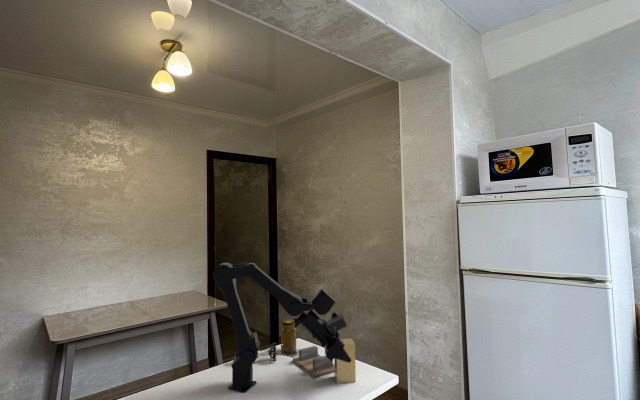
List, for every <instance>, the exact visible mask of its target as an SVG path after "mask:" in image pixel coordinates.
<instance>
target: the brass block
mask: <svg viewBox="0 0 640 400" xmlns="http://www.w3.org/2000/svg"><path fill="white" fill-rule="evenodd" d="M340 339H341V341H343V343H344V345H345V346H344V348H343V349H344V350H345V351H346V353H347V354H348V356H349V357H350V359H351V362H350V363H348V362H345V361H342V360H339V359H335V358H334V359H333V362H334V365H335V372H334V378H335V381H336V384H347V383H348V384H350V383H356V380H357V379H356V375H357V374H356V343H355V341H354V340H353V338H340Z"/></svg>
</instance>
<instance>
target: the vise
mask: <svg viewBox="0 0 640 400" xmlns="http://www.w3.org/2000/svg"><path fill="white" fill-rule="evenodd" d="M318 348H319V347H318V346H316V345H313V346H309V347H305V348H301V349H300V350H299V354H298V356H296V357H293V358H292V362H293V363H294V364H296V365H298V367H300V368H301V369H303V370H304V372H306V373H308V374H309V375H311V376H312V377H313V378H314V379H316V378H321V377H323V376H327V375H330V374H333V373H334V374H335V363H333V362H334V359H333V360H332V361H330V360H329V359H328V358H327V357H326V355H320V353H319V351H318V350H319V349H318Z"/></svg>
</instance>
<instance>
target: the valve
mask: <svg viewBox="0 0 640 400" xmlns="http://www.w3.org/2000/svg"><path fill="white" fill-rule="evenodd" d="M276 344H277V343H276V342H273V343H272V346H271V347H269V349H268V350H265V349H264V350H259V351H258V356H257V359H258V358H259V357H261V356H264V357H265V356H267V355H268V356H269V358H270V359H272V362H277V358H276V357H277V352H276V350H277V347H276V346H277V345H276ZM252 365H254V363H252Z"/></svg>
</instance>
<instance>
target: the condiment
mask: <svg viewBox="0 0 640 400" xmlns="http://www.w3.org/2000/svg"><path fill="white" fill-rule="evenodd" d="M282 344H283V345H282ZM299 350H300V349H298V348H297V327H296V328H295V327H294V319H284V320H283V321H282V322H281V329H280V350H279V351H277V352H276V354H278V355H284V356H289V357H293V358H296V357H298V356H299Z"/></svg>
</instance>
